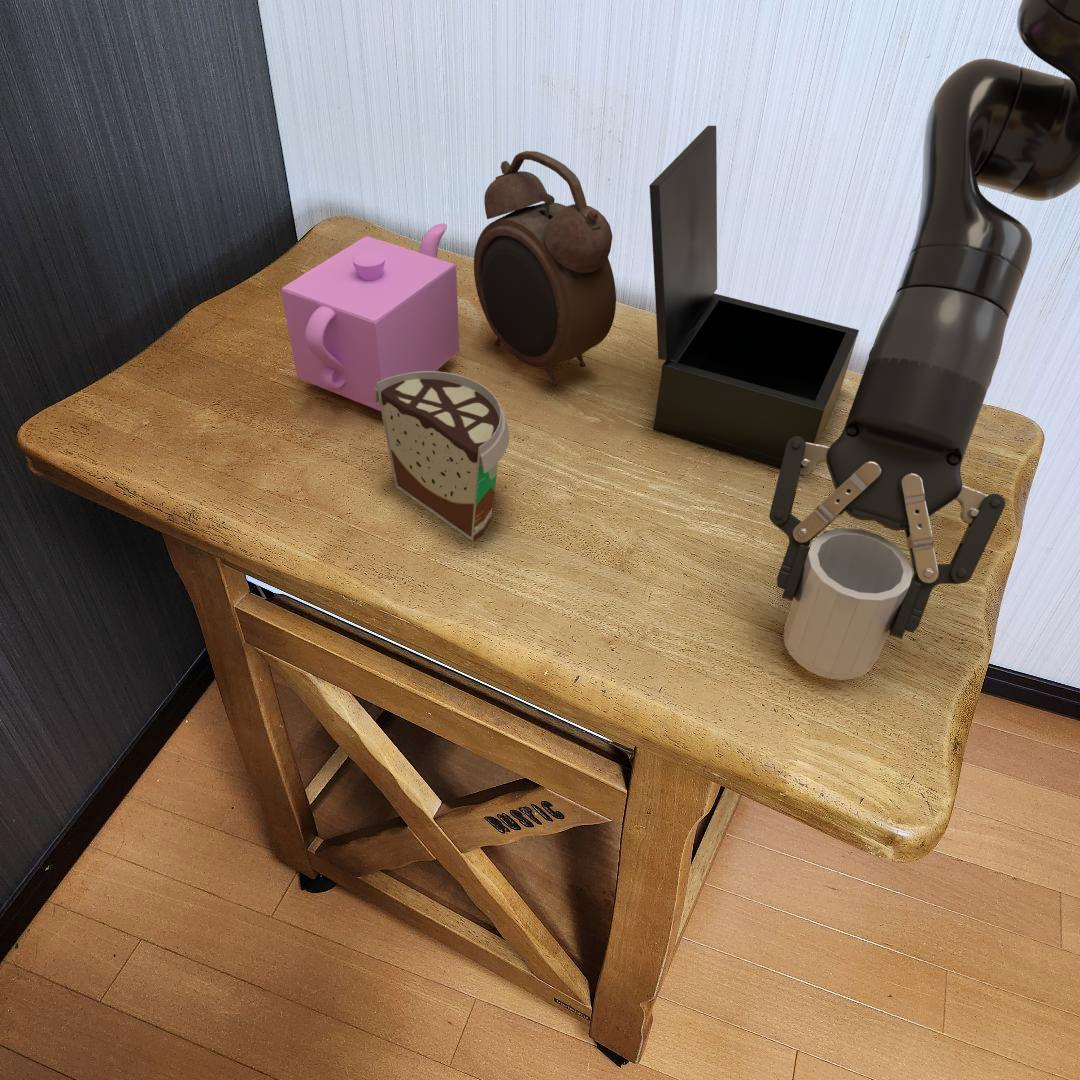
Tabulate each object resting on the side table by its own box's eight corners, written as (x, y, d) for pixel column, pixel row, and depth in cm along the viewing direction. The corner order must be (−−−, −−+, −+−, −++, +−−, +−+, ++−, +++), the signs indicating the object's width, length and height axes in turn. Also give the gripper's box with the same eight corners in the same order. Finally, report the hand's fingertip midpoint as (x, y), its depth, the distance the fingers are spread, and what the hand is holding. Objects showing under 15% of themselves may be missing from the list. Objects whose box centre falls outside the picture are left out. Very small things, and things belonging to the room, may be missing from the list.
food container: (540, 513, 74) (544, 414, 67) (486, 551, 71) (484, 451, 64) (437, 447, 80) (431, 349, 73) (383, 479, 77) (371, 379, 70)
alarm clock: (464, 343, 92) (457, 142, 78) (519, 320, 96) (521, 123, 82) (559, 410, 85) (570, 200, 71) (615, 382, 88) (636, 176, 74)
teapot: (369, 441, 80) (353, 315, 72) (281, 405, 84) (255, 280, 75) (490, 339, 93) (489, 221, 84) (410, 311, 97) (400, 195, 88)
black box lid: (716, 125, 77) (707, 125, 78) (659, 185, 68) (649, 185, 68) (717, 288, 87) (709, 288, 87) (667, 360, 77) (658, 359, 78)
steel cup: (885, 627, 64) (920, 547, 59) (866, 693, 60) (902, 613, 55) (796, 597, 66) (822, 516, 61) (772, 658, 62) (798, 578, 57)
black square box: (839, 393, 88) (859, 329, 83) (804, 476, 79) (824, 410, 74) (701, 355, 92) (712, 292, 87) (652, 430, 83) (662, 364, 78)
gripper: (816, 330, 57) (728, 580, 58) (1060, 391, 53) (963, 660, 54) (816, 361, 65) (738, 583, 65) (1031, 417, 60) (946, 654, 61)
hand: (840, 617), depth 59 cm, fingers closed on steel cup, 6 cm apart
